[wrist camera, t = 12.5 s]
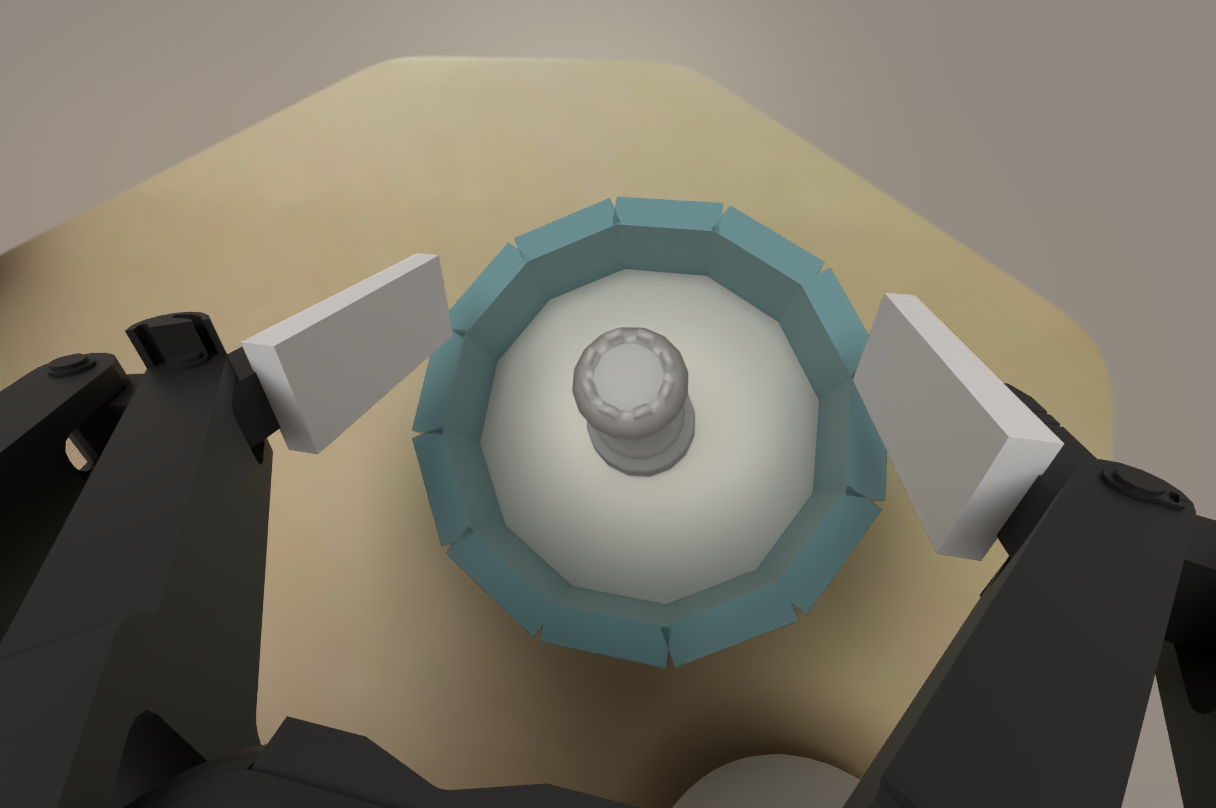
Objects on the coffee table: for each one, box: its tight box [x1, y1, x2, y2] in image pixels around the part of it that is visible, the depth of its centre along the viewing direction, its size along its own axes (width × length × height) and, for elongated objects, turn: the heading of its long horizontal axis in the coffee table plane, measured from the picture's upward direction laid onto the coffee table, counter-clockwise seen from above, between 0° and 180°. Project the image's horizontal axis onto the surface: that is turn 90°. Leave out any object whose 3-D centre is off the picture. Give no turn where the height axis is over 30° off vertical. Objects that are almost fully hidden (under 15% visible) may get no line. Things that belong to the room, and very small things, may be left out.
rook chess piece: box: [572, 327, 695, 477], centre depth 16 cm, size 4×4×8 cm
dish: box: [412, 197, 887, 668], centre depth 19 cm, size 16×16×4 cm
